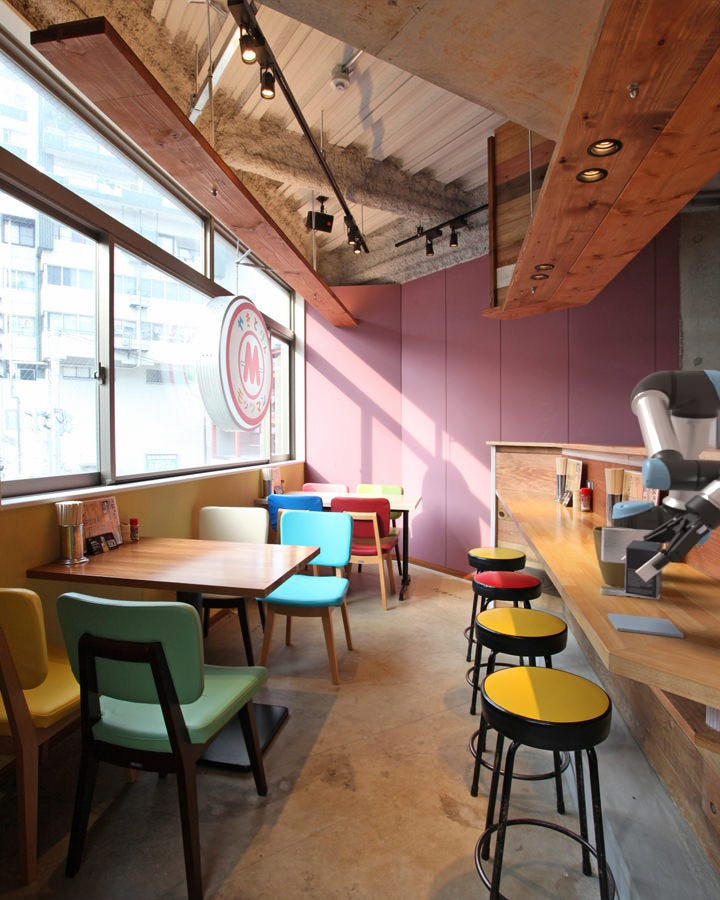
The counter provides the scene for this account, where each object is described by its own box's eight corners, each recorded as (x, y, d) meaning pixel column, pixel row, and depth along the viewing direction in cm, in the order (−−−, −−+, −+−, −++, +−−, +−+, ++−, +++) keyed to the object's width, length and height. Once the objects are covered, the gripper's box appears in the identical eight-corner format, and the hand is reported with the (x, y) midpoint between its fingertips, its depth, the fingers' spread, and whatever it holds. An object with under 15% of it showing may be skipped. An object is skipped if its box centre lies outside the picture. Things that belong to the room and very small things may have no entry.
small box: (630, 582, 119) (631, 538, 118) (662, 587, 115) (663, 542, 115) (623, 593, 110) (624, 545, 110) (657, 598, 106) (658, 550, 106)
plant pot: (588, 586, 144) (590, 531, 144) (593, 575, 157) (595, 524, 157) (648, 595, 137) (649, 537, 136) (648, 582, 149) (650, 529, 149)
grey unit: (599, 590, 140) (601, 526, 140) (655, 595, 136) (657, 530, 136) (602, 594, 137) (604, 528, 136) (659, 599, 133) (661, 532, 133)
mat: (607, 615, 119) (607, 613, 119) (668, 621, 116) (668, 619, 116) (617, 630, 110) (617, 627, 110) (684, 637, 106) (684, 635, 106)
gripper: (754, 527, 97) (662, 598, 101) (703, 512, 120) (631, 570, 124) (723, 499, 98) (634, 569, 102) (679, 489, 121) (608, 547, 125)
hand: (632, 570), depth 113 cm, fingers closed on small box, 12 cm apart
